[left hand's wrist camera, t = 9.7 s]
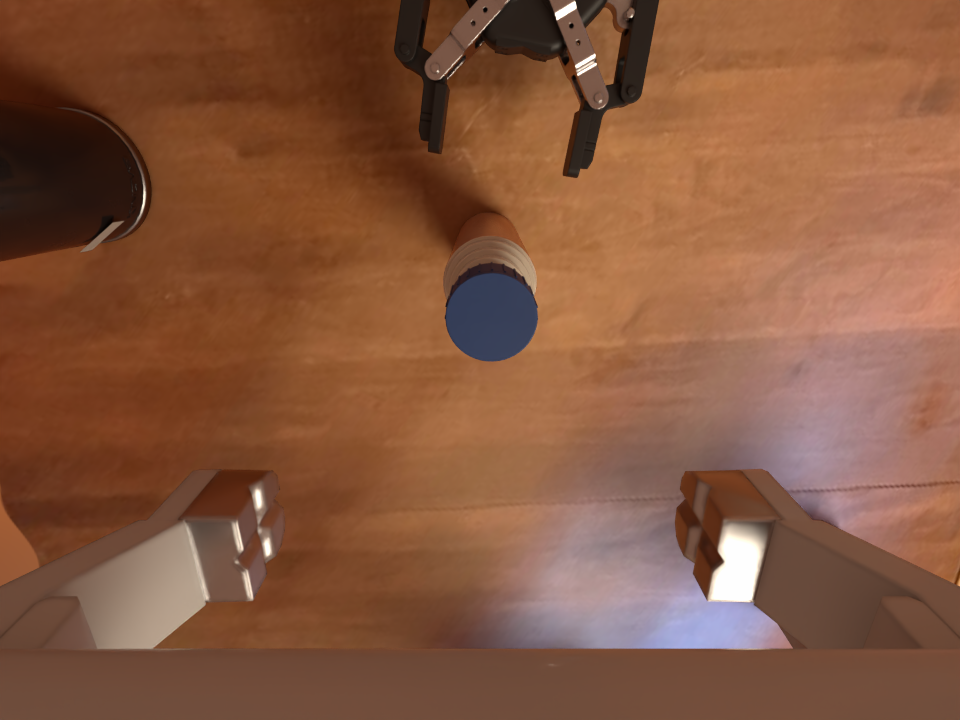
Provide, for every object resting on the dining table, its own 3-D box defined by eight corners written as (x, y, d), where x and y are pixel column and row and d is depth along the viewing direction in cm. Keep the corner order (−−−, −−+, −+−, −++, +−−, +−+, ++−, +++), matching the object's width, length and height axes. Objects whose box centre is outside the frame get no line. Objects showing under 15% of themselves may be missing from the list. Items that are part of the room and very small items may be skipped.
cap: (432, 321, 23) (428, 337, 21) (472, 245, 22) (471, 253, 20) (507, 359, 24) (509, 377, 22) (549, 286, 22) (556, 299, 20)
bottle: (446, 257, 41) (412, 339, 21) (474, 200, 39) (465, 233, 20) (500, 286, 42) (514, 389, 22) (530, 231, 40) (573, 291, 21)
